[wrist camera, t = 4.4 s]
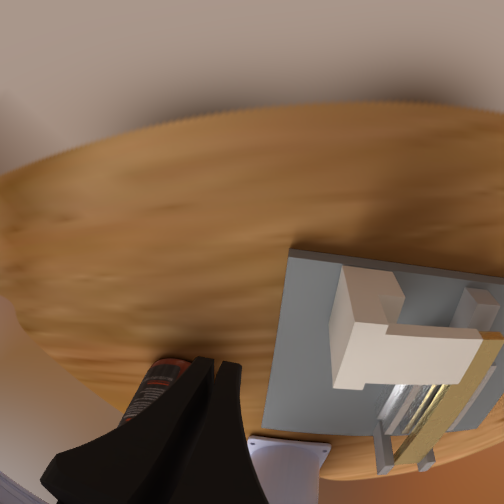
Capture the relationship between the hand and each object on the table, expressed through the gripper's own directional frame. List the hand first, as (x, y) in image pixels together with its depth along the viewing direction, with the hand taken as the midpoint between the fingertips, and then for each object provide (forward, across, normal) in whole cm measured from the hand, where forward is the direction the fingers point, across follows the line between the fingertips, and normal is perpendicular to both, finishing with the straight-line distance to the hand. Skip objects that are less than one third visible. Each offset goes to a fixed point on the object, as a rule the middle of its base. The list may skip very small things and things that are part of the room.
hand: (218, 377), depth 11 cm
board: (+9, -13, +6) cm, 17 cm away
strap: (+4, -14, +6) cm, 16 cm away
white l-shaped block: (+8, -8, 0) cm, 11 cm away
